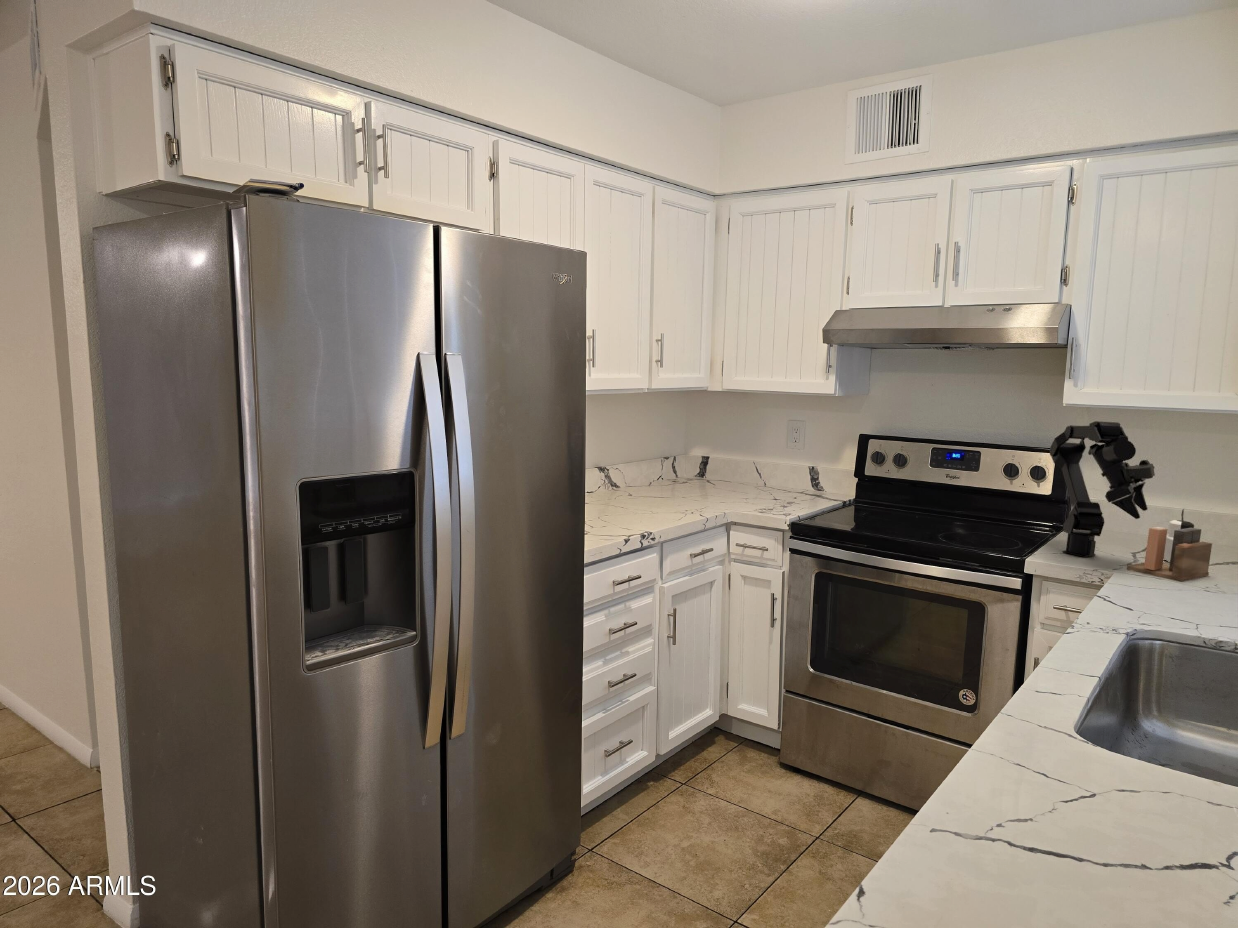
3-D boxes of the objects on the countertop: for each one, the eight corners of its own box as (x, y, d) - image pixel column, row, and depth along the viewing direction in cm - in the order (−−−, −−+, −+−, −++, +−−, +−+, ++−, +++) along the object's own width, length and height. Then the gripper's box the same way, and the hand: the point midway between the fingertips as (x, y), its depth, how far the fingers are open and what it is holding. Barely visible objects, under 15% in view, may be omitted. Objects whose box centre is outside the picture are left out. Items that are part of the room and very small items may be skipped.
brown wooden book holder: (1126, 569, 223) (1132, 525, 222) (1154, 563, 232) (1160, 521, 230) (1181, 581, 212) (1187, 535, 210) (1208, 575, 220) (1214, 531, 219)
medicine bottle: (1182, 559, 240) (1187, 519, 238) (1196, 565, 233) (1202, 524, 231) (1156, 557, 240) (1162, 518, 239) (1170, 563, 233) (1176, 522, 232)
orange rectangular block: (1143, 567, 220) (1149, 527, 219) (1152, 566, 222) (1157, 526, 221) (1153, 570, 218) (1159, 529, 216) (1162, 568, 220) (1167, 527, 219)
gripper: (1133, 458, 214) (1166, 511, 212) (1148, 445, 228) (1179, 494, 225) (1091, 476, 222) (1122, 527, 219) (1108, 462, 235) (1138, 510, 233)
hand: (1142, 514), depth 224 cm, fingers open, 9 cm apart
